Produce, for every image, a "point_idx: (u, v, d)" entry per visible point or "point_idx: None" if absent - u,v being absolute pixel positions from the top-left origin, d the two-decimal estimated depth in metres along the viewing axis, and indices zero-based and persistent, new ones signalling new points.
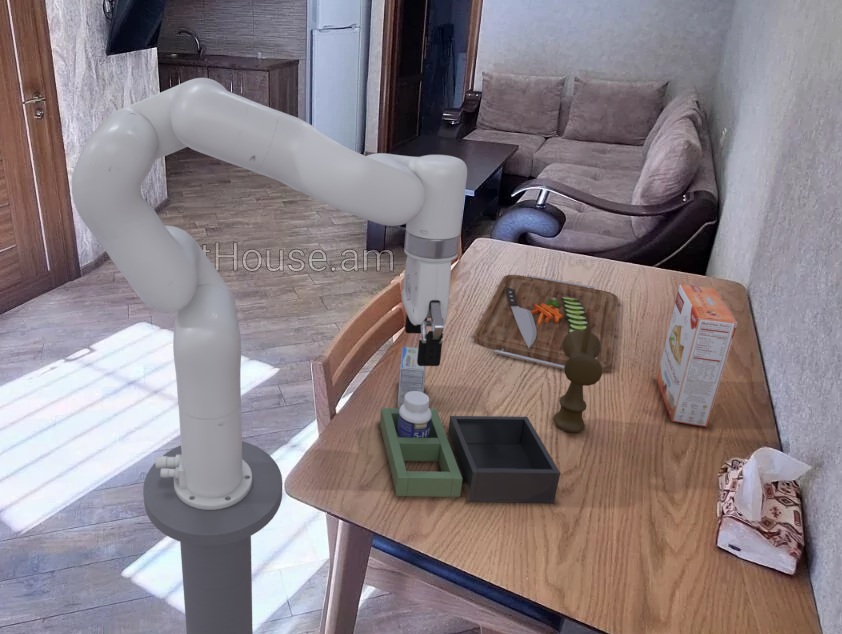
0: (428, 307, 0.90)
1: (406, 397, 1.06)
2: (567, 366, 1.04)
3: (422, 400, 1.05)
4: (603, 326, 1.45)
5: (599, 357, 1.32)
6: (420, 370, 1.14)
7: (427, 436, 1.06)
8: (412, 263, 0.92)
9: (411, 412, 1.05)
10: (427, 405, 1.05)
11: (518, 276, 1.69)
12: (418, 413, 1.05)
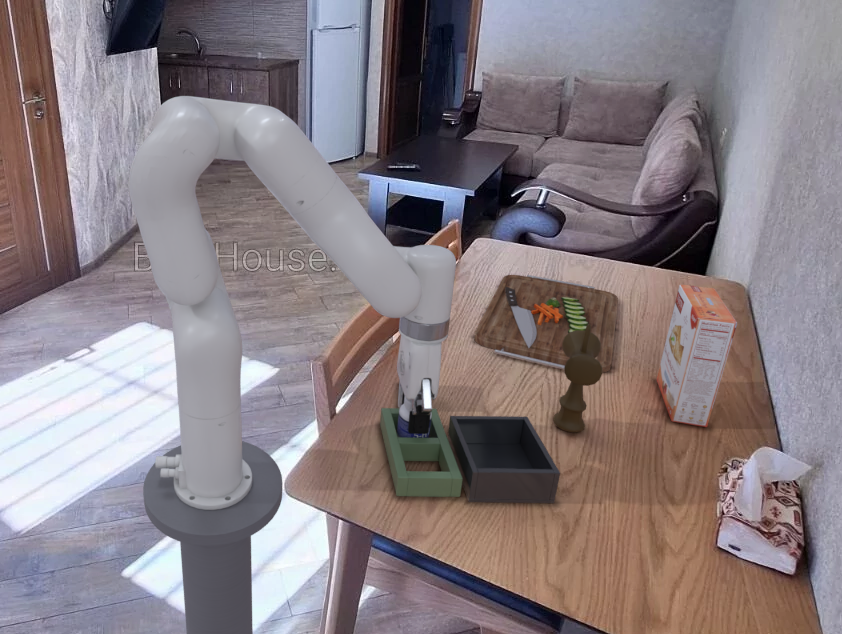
0: (420, 384, 0.99)
1: None
2: (567, 366, 1.04)
3: None
4: (603, 326, 1.45)
5: (599, 357, 1.32)
6: None
7: (427, 436, 1.06)
8: (406, 342, 1.00)
9: None
10: None
11: (518, 276, 1.69)
12: None
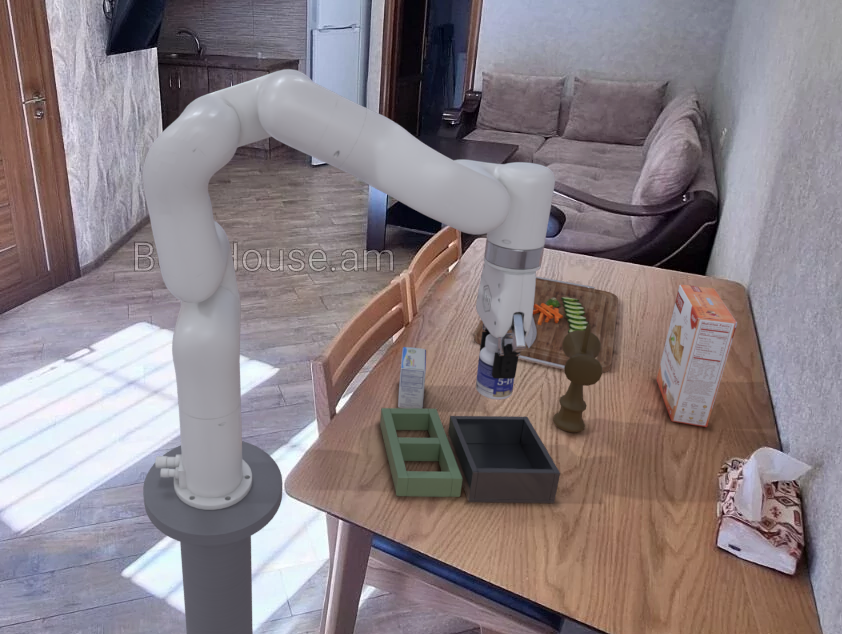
0: (512, 319, 0.88)
1: (488, 339, 0.95)
2: (567, 366, 1.04)
3: (506, 341, 0.94)
4: (603, 326, 1.45)
5: (599, 357, 1.32)
6: (420, 370, 1.14)
7: (512, 382, 0.95)
8: (493, 274, 0.90)
9: None
10: None
11: None
12: None
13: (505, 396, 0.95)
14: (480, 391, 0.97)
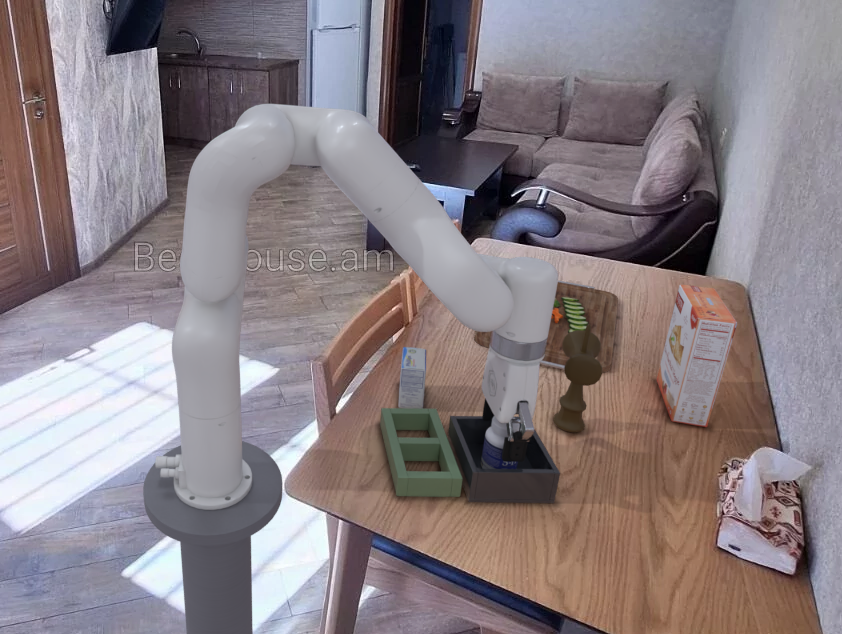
0: (516, 407, 0.91)
1: (494, 421, 0.99)
2: (567, 366, 1.04)
3: None
4: (603, 326, 1.45)
5: (599, 357, 1.32)
6: (421, 371, 1.14)
7: (516, 462, 0.99)
8: (498, 361, 0.93)
9: (500, 437, 0.98)
10: (518, 430, 0.97)
11: None
12: None
13: None
14: None
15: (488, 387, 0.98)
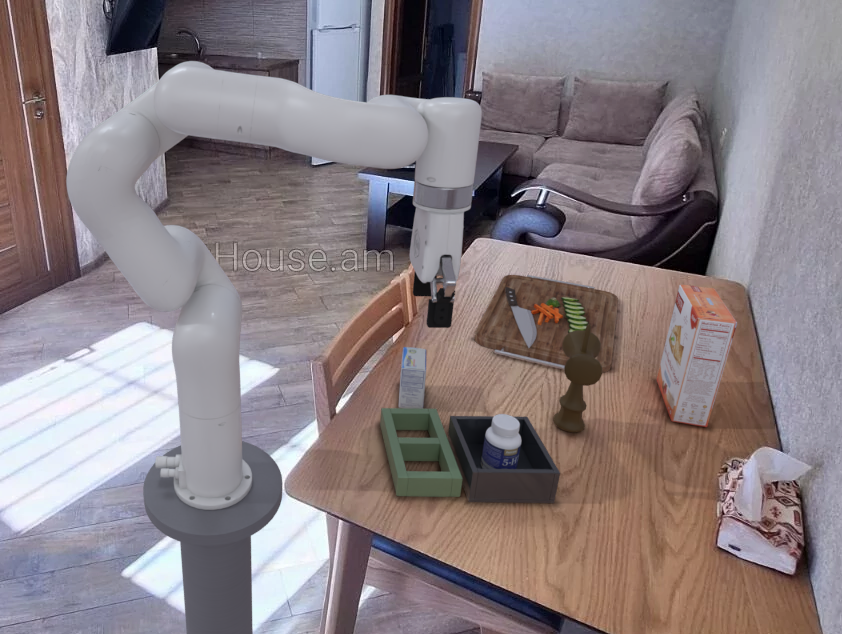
0: (439, 262, 0.83)
1: (494, 421, 0.99)
2: (567, 366, 1.04)
3: (512, 424, 0.98)
4: (603, 326, 1.45)
5: (599, 357, 1.32)
6: (421, 371, 1.14)
7: (516, 462, 0.99)
8: (421, 216, 0.85)
9: (500, 437, 0.98)
10: (518, 430, 0.97)
11: (518, 276, 1.69)
12: (509, 438, 0.98)
13: None
14: None
15: (414, 251, 0.90)
